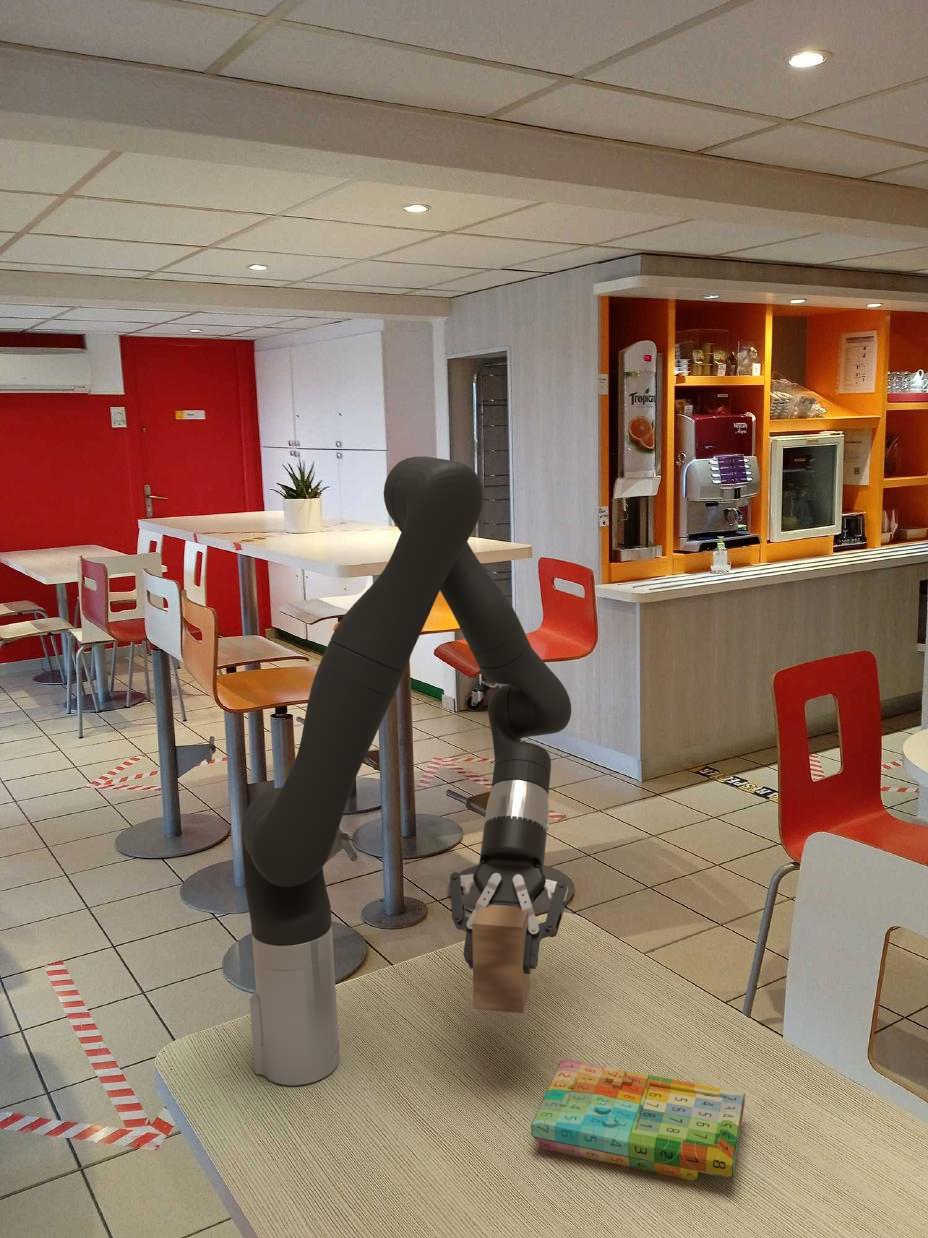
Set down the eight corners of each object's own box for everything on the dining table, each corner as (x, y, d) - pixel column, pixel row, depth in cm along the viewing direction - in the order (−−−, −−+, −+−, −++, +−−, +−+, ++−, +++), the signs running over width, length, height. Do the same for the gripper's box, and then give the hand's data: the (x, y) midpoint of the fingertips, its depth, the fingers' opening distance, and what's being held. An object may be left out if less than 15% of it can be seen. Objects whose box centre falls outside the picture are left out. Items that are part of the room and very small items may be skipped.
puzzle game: (560, 1053, 115) (744, 1085, 109) (561, 1091, 116) (744, 1126, 109) (530, 1116, 105) (733, 1157, 98) (531, 1158, 105) (732, 1201, 98)
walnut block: (473, 1009, 114) (472, 923, 112) (483, 984, 119) (481, 902, 117) (522, 1013, 112) (522, 927, 111) (530, 988, 118) (529, 905, 116)
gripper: (451, 810, 121) (429, 952, 112) (573, 817, 118) (561, 964, 109) (461, 837, 127) (441, 974, 118) (578, 844, 124) (567, 986, 115)
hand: (499, 968), depth 113 cm, fingers closed on walnut block, 5 cm apart
